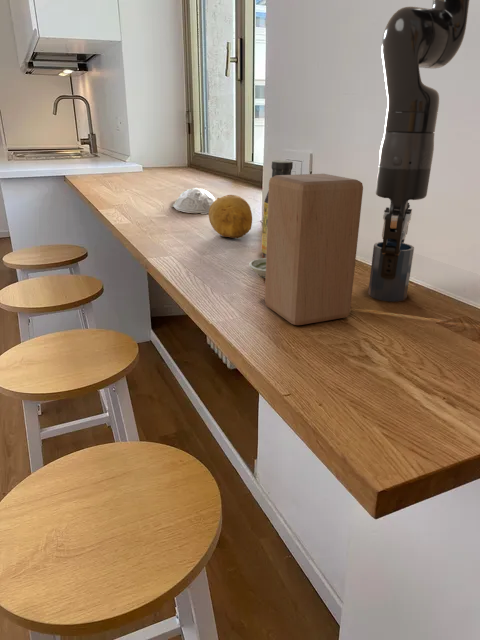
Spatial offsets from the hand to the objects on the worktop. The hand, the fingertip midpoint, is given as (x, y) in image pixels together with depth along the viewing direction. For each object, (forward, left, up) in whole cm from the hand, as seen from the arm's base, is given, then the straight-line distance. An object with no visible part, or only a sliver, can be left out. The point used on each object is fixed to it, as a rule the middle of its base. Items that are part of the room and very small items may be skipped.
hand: (389, 272), depth 80 cm
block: (+11, +11, -5) cm, 16 cm away
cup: (0, 0, -5) cm, 5 cm away
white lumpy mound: (+67, -67, -5) cm, 95 cm away
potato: (+41, -33, -5) cm, 53 cm away
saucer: (+21, -5, -5) cm, 22 cm away
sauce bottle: (+24, -16, -5) cm, 29 cm away
